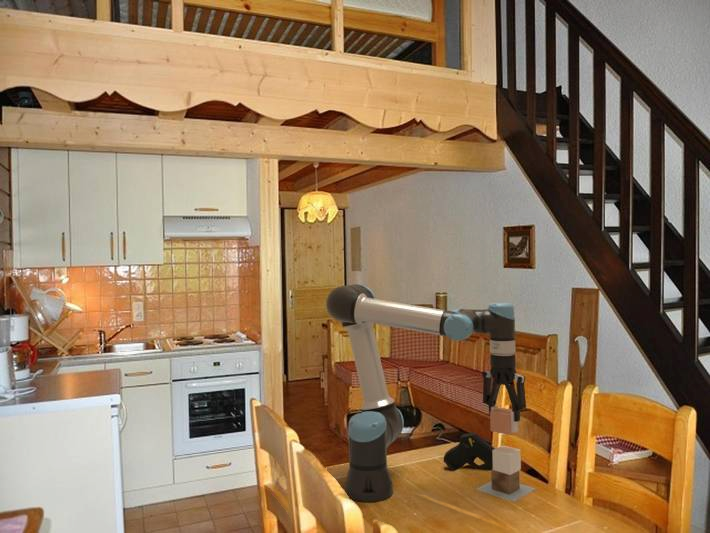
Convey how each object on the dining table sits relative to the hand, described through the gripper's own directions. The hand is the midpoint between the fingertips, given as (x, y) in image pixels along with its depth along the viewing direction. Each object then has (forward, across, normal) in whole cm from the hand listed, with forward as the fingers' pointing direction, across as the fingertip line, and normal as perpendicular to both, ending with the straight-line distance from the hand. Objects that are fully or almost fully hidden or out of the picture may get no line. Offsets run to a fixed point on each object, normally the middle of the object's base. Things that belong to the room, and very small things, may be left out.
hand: (504, 429), depth 167 cm
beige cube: (+12, 0, 0) cm, 12 cm away
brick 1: (0, 0, 0) cm, 0 cm away
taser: (+20, -17, +9) cm, 27 cm away
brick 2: (+18, 0, 0) cm, 18 cm away
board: (+19, 0, 0) cm, 19 cm away
